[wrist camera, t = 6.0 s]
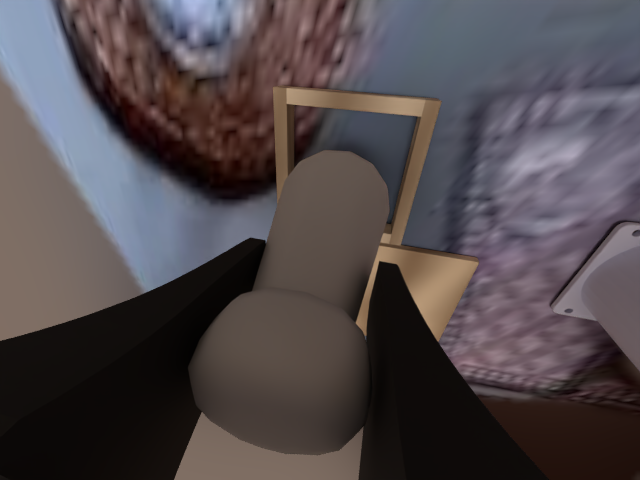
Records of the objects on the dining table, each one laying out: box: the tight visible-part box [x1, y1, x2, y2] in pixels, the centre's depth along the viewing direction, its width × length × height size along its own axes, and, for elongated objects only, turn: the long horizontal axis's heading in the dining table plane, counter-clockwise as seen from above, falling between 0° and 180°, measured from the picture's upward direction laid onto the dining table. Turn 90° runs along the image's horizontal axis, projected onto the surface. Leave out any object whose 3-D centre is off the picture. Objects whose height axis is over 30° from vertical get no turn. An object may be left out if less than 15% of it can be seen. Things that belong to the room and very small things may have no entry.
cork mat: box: [356, 242, 479, 341], centre depth 23 cm, size 11×11×1 cm
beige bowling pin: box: [188, 150, 390, 455], centre depth 11 cm, size 6×6×13 cm
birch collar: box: [273, 86, 442, 246], centre depth 17 cm, size 9×9×2 cm
